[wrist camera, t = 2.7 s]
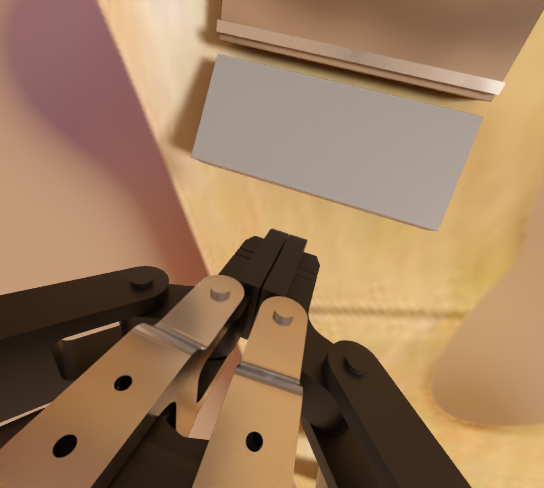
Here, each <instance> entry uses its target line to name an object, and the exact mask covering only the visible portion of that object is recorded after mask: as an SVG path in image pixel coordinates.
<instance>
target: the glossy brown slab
mask: <svg viewBox="0 0 544 488" xmlns="http://www.w3.org/2000/svg"><path fill="white" fill-rule="evenodd" d="M543 10H544V0H222V10H221V20H218V19H217V30H216V31H217V32H219V33H220V37H219V39H220V40H223V41H226V42H229V43H232V44H237V45H241V46H245V47H250V48H254V49H258V50H263V51H267V52H271V53H276V54H280V55H284V56H289V57H293V58H297V59H302V60H306V61H310V62H315V63H319V64H323V65H328V66H332V67H336V68H341V69H345V70H350V71H354V72H358V73H363V74H367V75H371V76H376V77H380V78H384V79H389V80H393V81H397V82H402V83H406V84H410V85H415V86H419V87H423V88H428V89H432V90H436V91H441V92H445V93H449V94H454V95H458V96H462V97H467V98H471V99H476V100H481V101H490V102H491V101H492V100H493V98H494V96H495V95H499V94H500V92H501V90H502V89H503V87H504V85H505V83H506V82H503V80H504V78H505V77H506V75H507V73H508V71H509V70H510V68H511V66H512V64H513V63H514V61H515V59H516V57H517V56H518V54H519V52H520V50H521V49H522V47H523V45H524V43H525V42H526V40H527V38H528V36H529V35H530V33H531V31H532V29H533V28H534V26H535V24H536V22H537V21H538V19H539V17H540V15H541V14H542V12H543Z"/></svg>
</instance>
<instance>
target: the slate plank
mask: <svg viewBox="0 0 544 488" xmlns="http://www.w3.org/2000/svg"><path fill="white" fill-rule="evenodd" d="M482 119H483V117H482V116H478V115H473V114H469V113H465V112H461V111H457V110H452V109H448V108H444V107H440V106H436V105H431V104H427V103H423V102H419V101H415V100H410V99H406V98H402V97H398V96H394V95H389V94H385V93H381V92H377V91H373V90H368V89H364V88H360V87H356V86H351V85H347V84H343V83H339V82H335V81H330V80H326V79H322V78H318V77H314V76H309V75H305V74H301V73H297V72H293V71H288V70H284V69H280V68H276V67H272V66H267V65H263V64H259V63H255V62H251V61H246V60H242V59H238V58H234V57H229V56H225V55H221V54H217V58H216V62H215V66H214V70H213V74H212V77H211V81H210V85H209V89H208V93H207V97H206V101H205V104H204V108H203V112H202V116H201V120H200V124H199V128H198V132H197V135H196V139H195V143H194V147H193V151H192V155H191V157H192V158H194V159H196V160H198V161H200V162H202V163H205V164H208V165H212V166H215V167H218V168H222V169H225V170H228V171H232V172H235V173H238V174H242V175H245V176H248V177H252V178H255V179H258V180H261V181H265V182H268V183H271V184H275V185H278V186H281V187H285V188H288V189H291V190H295V191H298V192H301V193H305V194H308V195H311V196H315V197H318V198H321V199H325V200H328V201H331V202H334V203H338V204H341V205H344V206H348V207H351V208H354V209H358V210H361V211H364V212H368V213H371V214H374V215H378V216H381V217H384V218H388V219H391V220H394V221H398V222H401V223H404V224H408V225H411V226H414V227H417V228H421V229H424V230H431V231H438V230H439V227H440V225H441V222H442V220H443V217H444V215H445V212H446V210H447V207H448V204H449V202H450V199H451V197H452V194H453V192H454V189H455V187H456V184H457V182H458V179H459V177H460V174H461V172H462V169H463V167H464V164H465V162H466V159H467V157H468V154H469V152H470V149H471V147H472V144H473V142H474V139H475V137H476V134H477V132H478V129H479V127H480V124H481V121H482Z"/></svg>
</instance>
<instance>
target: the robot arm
mask: <svg viewBox="0 0 544 488" xmlns="http://www.w3.org/2000/svg"><path fill="white" fill-rule="evenodd" d="M306 244H307V240H306V239H303V238H300V237H297V236H293V235H289V234H287V233H284V232H281V231H278V230H275V229H270V231H269V232H268V234H267V235H266V237H265V238H264V239H263V238H260V237H257V236H254V237H251V238H249V239H247V240H245V241H244V243H243V244H242V245H241V246H240V248H239V249H238V250H237V251H236V253H235V255H233V257H232V258H231V259H230V260H229V262H228V263H227V264H226V265H225V267H224V268H223V269H222V270H221V272H220V273H219V274H218V275H213V276H209V277H206V278H204V279H203V280H201V281H200V282H199V283H198V284H197V285H196V286H184V285H174V284H169V278H168V275H167V274H166V273H165V272H164V271H163V270H161V269H158V268H156V267H150V266H140V267H134V268H129V269H124V270H120V271H115V272H110V273H105V274H101V275H96V276H91V277H86V278H82V279H76V280H72V281H67V282H62V283H57V284H52V285H48V286H43V287H38V288H33V289H28V290H23V291H19V292H14V293H9V294H4V295H0V422H3V421H5V420H8V419H10V418H13V417H15V416H18V415H20V414H23V413H25V412H28V411H30V410H33V409H35V408H38V407H40V406H43V405H45V404H48V403H50V402H51V403H50V404H49V405H48V406H47V407H46V408H43V409H40V410H38V411H35V412H33V413H30V414H28V415H26V416H24V417H21V418H19V419H17V420H15V421H12V422H10V423H8V424H5V425H3V426H1V427H0V488H292V482H293V474H294V465H295V457H296V449H297V440H298V432H299V424H300V419H301V423H302V426H303V429H304V431H305V433H306V436H307V438H308V441H309V443H310V445H311V448H312V450H313V453H314V455H315V458H316V460H317V462H318V465H319V467H320V470H321V472H322V474H323V477H324V479H325V482H326V484H327V487H328V488H471V486H470V485H469V484H468V482H467V481H466V479H465V478H464V477H463V475H462V474H461V473H460V471H459V470H458V469H457V467H456V466H455V464H454V463H453V462H452V460H451V459H450V458H449V456H448V455H447V454H446V452H445V451H444V449H443V448H442V447H441V445H440V444H439V443H438V441H437V440H436V439H435V437H434V436H433V434H432V433H431V432H430V430H429V429H428V428H427V426H426V425H425V424H424V422H423V421H422V419H421V418H420V417H419V415H418V414H417V413H416V411H415V410H414V409H413V407H412V406H411V404H410V403H409V402H408V400H407V399H406V398H405V396H404V395H403V394H402V392H401V391H400V389H399V388H398V387H397V385H396V384H395V383H394V381H393V380H392V379H391V377H390V376H389V374H388V373H387V372H386V370H385V369H384V368H383V366H382V365H381V364H380V362H379V361H378V359H377V358H376V357H375V356H374V354H373V353H372V352H370V351H369V350H368V349H367V348H366V347H364V346H362V345H360V344H358V343H356V342H353V341H346V340H343V341H339V342H336V343H334V344H333V343H332V342H330V341H329V340H327V339H326V338H324V337H323V336H322V335H320V334H319V333H318V332H317V331H316V330H315V328H314V327H313V326H312V324H311V322H310V320H309V316H308V311H309V307H310V303H311V299H312V295H313V291H314V287H315V282H316V279H317V274H318V271H319V267H320V264H319V262H318V259H317V256H314V255H311V254H308V253H305V252H304V250H305V247H306ZM118 321H119V323H120V325H119V326H116V327H113V328H110V329H107V330H103V331H100V332H97V333H94V334H90V335H87V336H84V337H81V338H77V339H74V340H68V341H65V340H61V339H63V338H66V337H69V336H72V335H76V334H79V333H82V332H85V331H88V330H92V329H95V328H99V327H102V326H105V325H109V324H112V323H115V322H118ZM249 336H250V337H249ZM240 337H242V338H244V339H247V340H248V342H247V345H246V348H245V351H244V353H243V356H242V359H241V361H240V364H239V365H238V366H237V368H236V370H235V372H234V375H233V377H232V380H231V383H230V386H229V388H228V391H227V394H226V396H225V399H224V402H223V405H222V408H221V410H220V413H219V416H218V418H217V421H216V424H215V427H214V429H213V432H212V435H211V437H210V440H203V439H195V438H188V436H189V434H190V432H191V429H192V427H193V425H194V422H195V419H196V417H197V414H198V412H199V410H200V408H201V407H202V405H203V403H204V402H205V400H206V398H207V397H208V395H209V393H210V392H211V390H212V388H213V387H214V385H215V383H216V382H217V380H218V378H219V377H220V375H221V373H222V372H223V370H224V368H225V367H226V365H227V363H228V362H229V360H230V358H231V356H232V353H233V350H234V348H235V347H236V345H237V343H238V341H239V339H240ZM248 338H249V339H248Z"/></svg>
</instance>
